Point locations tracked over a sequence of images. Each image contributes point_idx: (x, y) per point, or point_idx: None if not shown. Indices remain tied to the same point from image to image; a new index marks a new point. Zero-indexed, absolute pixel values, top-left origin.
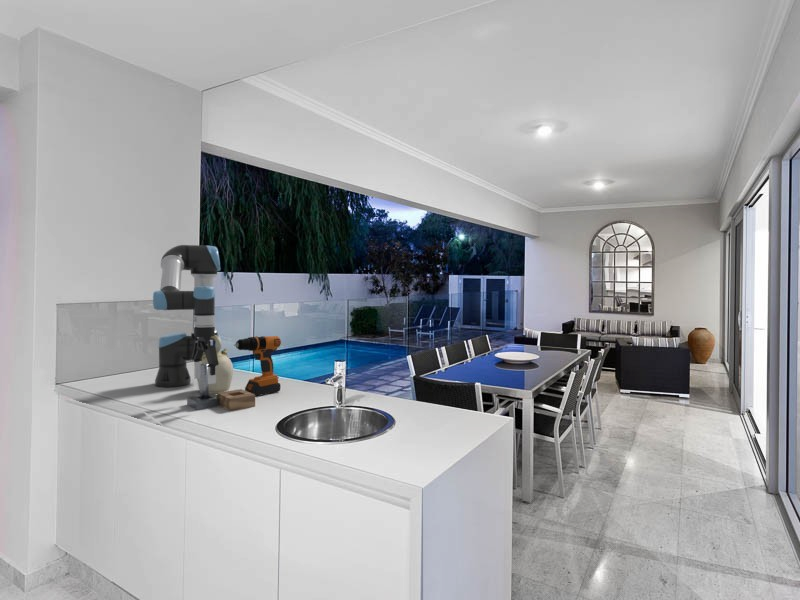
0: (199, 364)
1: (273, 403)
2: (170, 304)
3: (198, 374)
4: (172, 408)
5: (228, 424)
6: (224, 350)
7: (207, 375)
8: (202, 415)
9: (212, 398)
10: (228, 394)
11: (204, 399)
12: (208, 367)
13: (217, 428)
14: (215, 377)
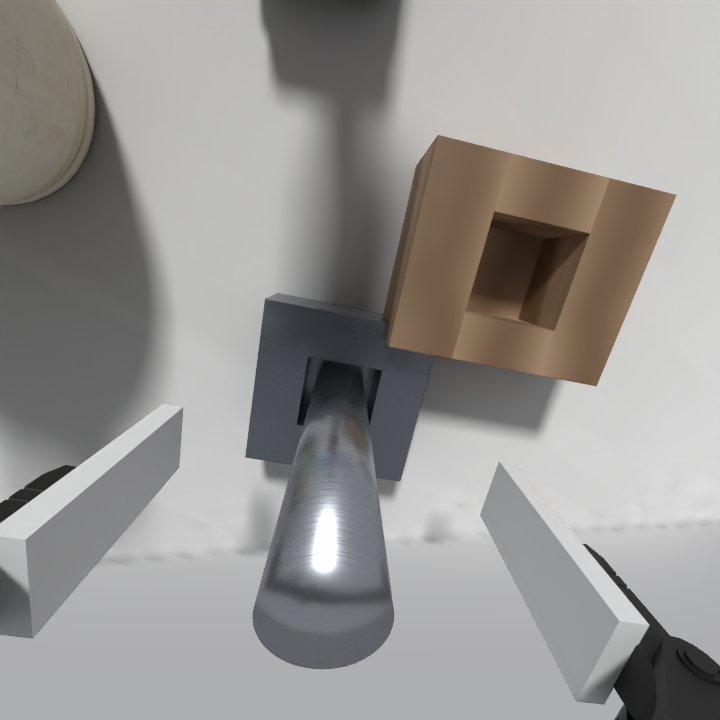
0: (69, 535)
1: (645, 51)
2: None
3: (159, 457)
4: (250, 492)
5: (677, 474)
6: None
7: (377, 491)
8: (473, 470)
9: (400, 384)
10: (493, 322)
11: (383, 426)
12: (594, 693)
13: (672, 524)
14: (543, 501)
